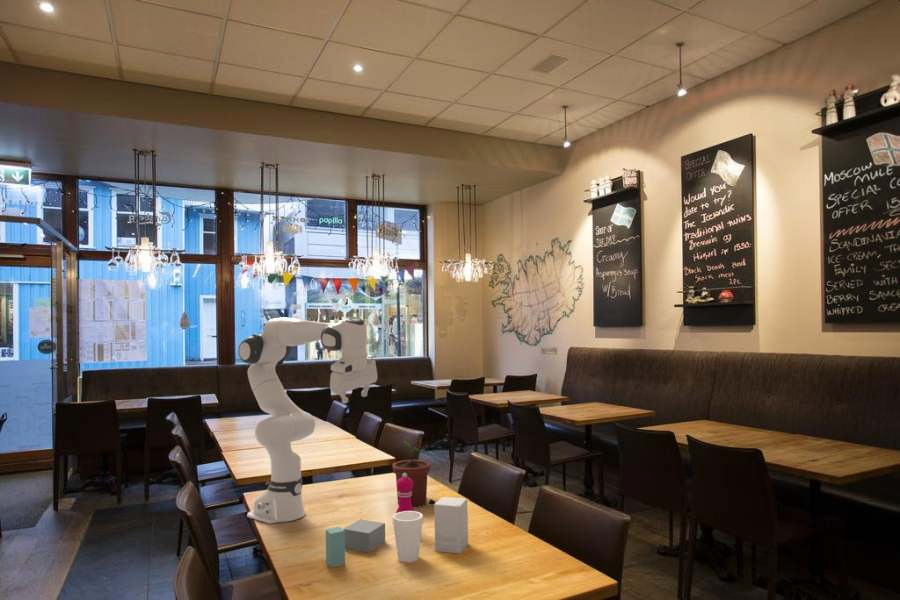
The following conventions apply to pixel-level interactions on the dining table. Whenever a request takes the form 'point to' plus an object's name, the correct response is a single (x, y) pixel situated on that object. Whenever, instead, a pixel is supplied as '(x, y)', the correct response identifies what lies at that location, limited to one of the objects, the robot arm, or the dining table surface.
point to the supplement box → (451, 524)
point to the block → (335, 546)
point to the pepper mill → (404, 493)
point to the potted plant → (414, 477)
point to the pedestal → (364, 535)
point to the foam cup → (408, 534)
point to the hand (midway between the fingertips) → (354, 399)
